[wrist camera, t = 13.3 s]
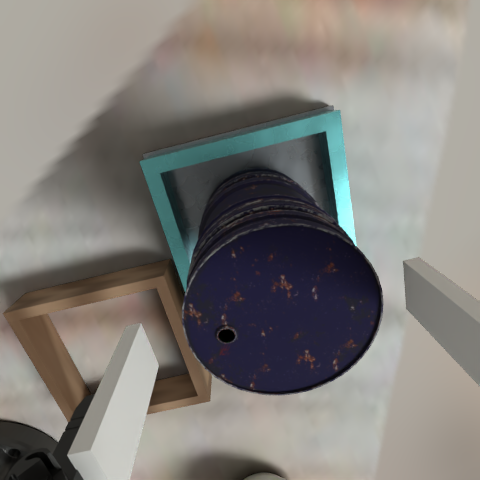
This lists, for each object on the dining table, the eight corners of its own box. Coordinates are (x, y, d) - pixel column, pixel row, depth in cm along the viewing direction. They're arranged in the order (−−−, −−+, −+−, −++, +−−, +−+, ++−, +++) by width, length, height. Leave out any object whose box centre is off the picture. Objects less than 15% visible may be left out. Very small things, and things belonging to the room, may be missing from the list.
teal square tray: (197, 307, 34) (194, 328, 31) (145, 153, 28) (134, 158, 25) (351, 272, 33) (365, 290, 30) (329, 105, 27) (343, 104, 24)
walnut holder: (86, 402, 38) (73, 430, 35) (25, 293, 33) (2, 313, 29) (211, 375, 37) (210, 401, 34) (170, 258, 32) (163, 275, 29)
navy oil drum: (296, 150, 27) (366, 190, 14) (323, 252, 31) (400, 367, 17) (185, 188, 28) (143, 262, 14) (223, 283, 32) (219, 416, 18)
